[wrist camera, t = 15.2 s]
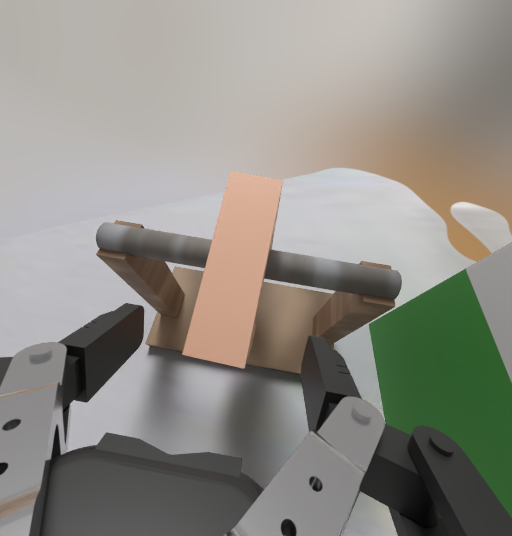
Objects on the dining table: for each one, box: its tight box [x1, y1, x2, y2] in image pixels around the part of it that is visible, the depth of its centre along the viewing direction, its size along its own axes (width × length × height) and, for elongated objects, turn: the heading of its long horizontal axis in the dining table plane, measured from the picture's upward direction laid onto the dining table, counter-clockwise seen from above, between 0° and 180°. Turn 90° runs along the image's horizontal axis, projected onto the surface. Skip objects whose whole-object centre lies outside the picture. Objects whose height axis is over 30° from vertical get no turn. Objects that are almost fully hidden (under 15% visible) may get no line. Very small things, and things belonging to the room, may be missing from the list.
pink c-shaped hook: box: [182, 171, 283, 369], centre depth 18 cm, size 3×10×12 cm, turn 169°
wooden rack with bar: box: [96, 220, 402, 375], centre depth 23 cm, size 21×10×16 cm, turn 80°
